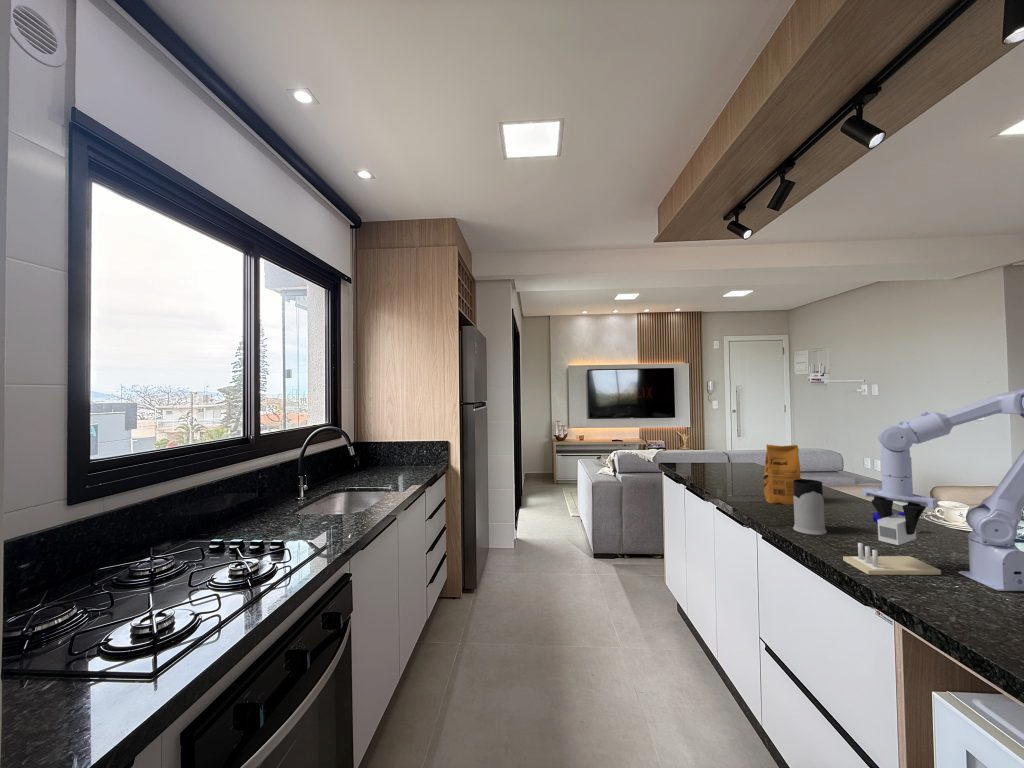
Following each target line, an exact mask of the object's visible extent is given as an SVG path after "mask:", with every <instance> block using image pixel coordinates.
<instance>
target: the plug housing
mask: <svg viewBox="0 0 1024 768" xmlns="http://www.w3.org/2000/svg"><path fill="white" fill-rule="evenodd" d="M877 521H878V524H877V537H878V541H880V542H883V543H884V542H885V543H887V544H893V545H897V546H900V545H903V544H906V543H907V542H911V541H913V540H916V539H917V534H918V533H920V532H922V528H921V527H920V526H916V529H915V534H912V535H908V534H907V532H906V519H905V516H902V515H898V513H897V514H896V513H895V514H893V515H891V516H888V517H885V518H882V519H879V520H877Z"/></svg>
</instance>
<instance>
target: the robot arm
mask: <svg viewBox="0 0 1024 768" xmlns="http://www.w3.org/2000/svg"><path fill="white" fill-rule="evenodd" d="M998 414H1003V415H1004V414H1005V415H1006V414H1007V415H1019V416H1020V417H1021V418H1023V419H1024V387H1023V388H1019V389H1017V390H1015V391H1007V392H1002V393H998V394H995V395H992V396H989V397H987V398H985V399H982V400H978V401H976V402H974V403H973V402H972V403H971V404H968V405H965V406H963V407H959V408H958V409H955V410H952V411H950V412H947V413H940V412H936V411H931V412H928V411H924V412H920V413H919V416H917V417H914V418H911V419H908V420H906V421H903V420H899V421H897V422H896V423H897V425H898V426H897V425H888V426H885V427H884V428H883V429H881V430H880V432H879V434H878V436H877V438H878V441H879V443H880V444H881V447H880V452H881V455H880V471H881V473H880V474H881V489H879V488H870V487H863V488H861V496H862V497H865V498H867V497H870V498H873V499H871V504H872V505H873V507H874V509H875V510H876V513H878V514H879V516H880V518H881V519H882V518H885V517H888V516H891V515H892V513H893V507H894V506H893V505H894V504H893V503H894V502H898V503H904V505H902V511H903V512H904V514H905V519H906V532H907V534H908V535H912V534H915V529H916V527H917V524H918V523H919V520H920V518H921V517H922V514H923V512H924V511H925V510H926V508H929V509H936V508H938V505H939V504H938V499H937V498H934V497H929V496H924V495H919V494H915V493H914V488H913V487H914V486H913V468H912V467H913V466H912V465H913V464H912V457H911V448H912V447H913V444H916V445H919V444H922V443H925V442H928V441H931V440H935V439H938V438H941V437H945V436H947V435H950V433H951V431H952V429H953V427H955V426H960V425H963V424H966V423H970V422H972V421H973V422H974V421H976V420H980V419H983V418H987V417H990V416H993V415H998ZM1023 508H1024V449H1022V451H1021V453H1020V454H1019V456H1018V457H1017V459H1016V460H1015V461H1014V462H1013V464H1012V466H1010V469H1008V471H1007V473H1006V474H1005V475H1004V476H1003V478H1002V479H1001V480H1000V482H999V483H998V485H997V486H996V488H995V489H994V490H993V492H992V493H991V494H990V495H989V496H987V497H985V498H984V499H982V501H981V503H979V504H978V505H976V506H974V507H972V508H971V509H968V511H967V512H966V515H965V521H966V523H967V526H969V527H970V528H971V529H972V530H971V532H970V533H969V534H967V540H968V543H967V544H968V562H969V570H965V571H964V570H959V571H958V574H960V575H962V576H964V577H966V578H969V579H971V580H973V581H975V582H978V583H979V584H982V585H984V586H987V587H989V588H991V589H993V590H995V591H998V592H1024V551H1022V550H1020V549H1019V548H1018V547H1017V545H1016V541H1015V539H1016V538H1017V536H1018V526H1019V523H1020V522H1021V521H1022V519H1023V518H1022V514H1023Z"/></svg>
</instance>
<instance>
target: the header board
mask: <svg viewBox="0 0 1024 768" xmlns="http://www.w3.org/2000/svg"><path fill="white" fill-rule="evenodd" d="M871 552H872V553H871ZM878 552H879V551H878V549H872V550H871V546H869V545H865V546H864V543H863V542H857V553H858V555H857V556H854V555H853V556H851V555H850V556H846V555H845V556H842V559H843V561H844V562H846V563H847V564H849V565H851V566H852V567H854V568H856V569H857V570H860V571H862V572H863V573H864V574H867V575H869V576H881V575H882V576H883V575H884V576H887V575H889V576H894V575H895V576H900V575H901V576H902V575H903V576H904V575H906V576H909V575H912V576H914V575H917V576H920V575H921V576H922V575H923V576H924V575H927V576H928V575H933V576H934V575H935V576H936V575H940V576H941V575H942V570H941V569H939V568H937V567H934V566H932V565H930V564H928V563H926V562H924V561H922V560H919V559H917V558H916V557H912V556H911V555H890V556H889V555H885V556H884V555H879V553H878ZM871 554H872V555H871ZM864 555H865V556H864ZM878 555H879V556H878Z"/></svg>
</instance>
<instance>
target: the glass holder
mask: <svg viewBox="0 0 1024 768" xmlns="http://www.w3.org/2000/svg"><path fill="white" fill-rule="evenodd" d="M793 483H794V496H793V499H794V505H793V515H794V516H793V517H794V518H793V519H794V520H793V521H794V525H793V527H792V529H793V530H794V531H795V532H797V533H802V534H807V535H815V536H816V535H818V536H819V535H820V536H821V535H826V534H827V533H828V531H827V529H826V526H825V525H826V523H825V521H826V520H825V500H824V491H823V489H824V488H823V482H822V480H821V481H820V480H817V479H816V480H815V479H810V478H809V479H806V478H800V479H796V480H793Z"/></svg>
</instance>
